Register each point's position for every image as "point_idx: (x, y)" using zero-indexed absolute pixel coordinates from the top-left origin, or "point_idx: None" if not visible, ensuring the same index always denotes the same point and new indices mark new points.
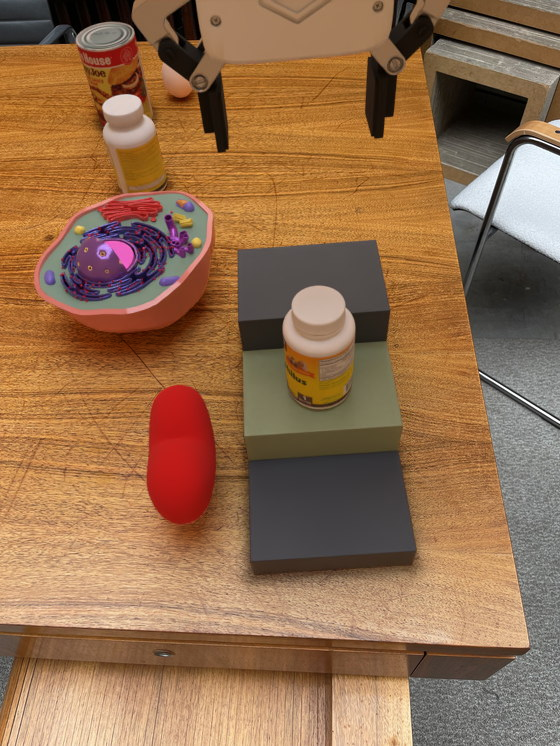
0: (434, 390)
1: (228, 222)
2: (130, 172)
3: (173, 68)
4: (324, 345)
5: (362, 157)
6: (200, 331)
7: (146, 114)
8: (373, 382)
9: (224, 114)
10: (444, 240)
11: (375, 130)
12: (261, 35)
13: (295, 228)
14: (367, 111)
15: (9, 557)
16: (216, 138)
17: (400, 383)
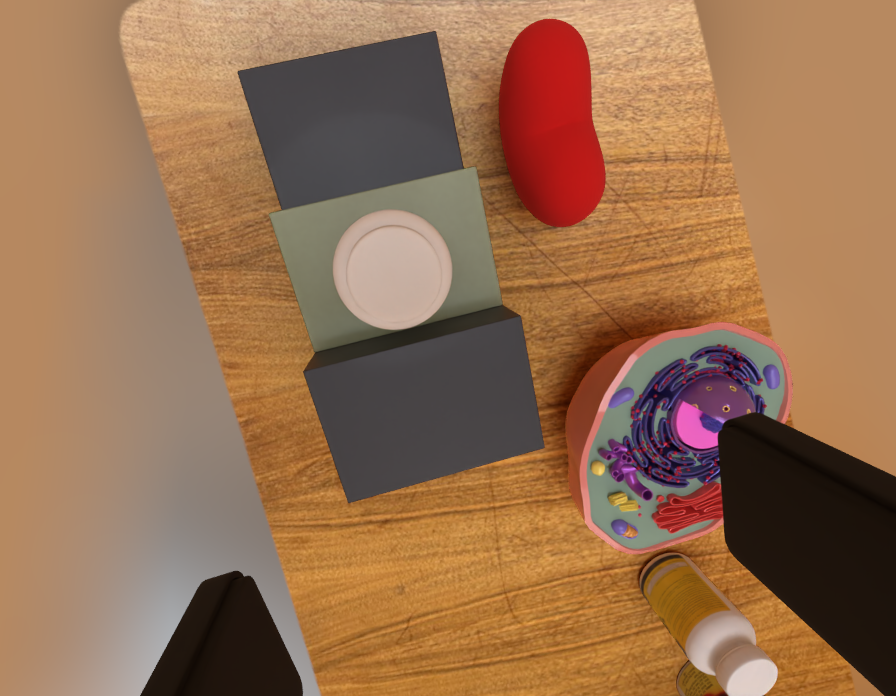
0: (263, 335)
1: (554, 540)
2: (695, 582)
3: None
4: (375, 222)
5: (409, 675)
6: (555, 373)
7: (687, 684)
8: (320, 279)
9: (827, 524)
10: (285, 564)
11: (225, 597)
12: None
13: (472, 546)
14: (279, 686)
15: (699, 38)
16: (798, 433)
17: (306, 338)
